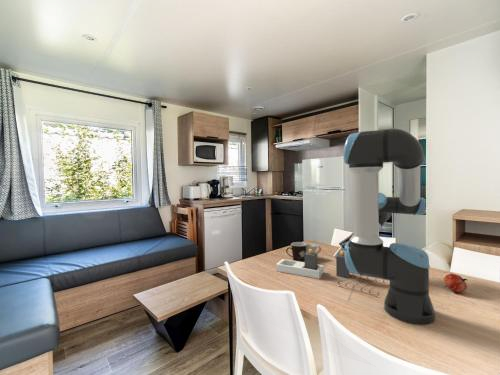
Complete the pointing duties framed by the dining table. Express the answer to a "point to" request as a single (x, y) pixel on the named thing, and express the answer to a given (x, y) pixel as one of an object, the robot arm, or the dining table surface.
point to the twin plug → (311, 260)
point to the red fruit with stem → (455, 283)
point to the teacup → (312, 246)
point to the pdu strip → (298, 268)
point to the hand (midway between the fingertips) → (343, 262)
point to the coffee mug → (298, 251)
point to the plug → (341, 265)
